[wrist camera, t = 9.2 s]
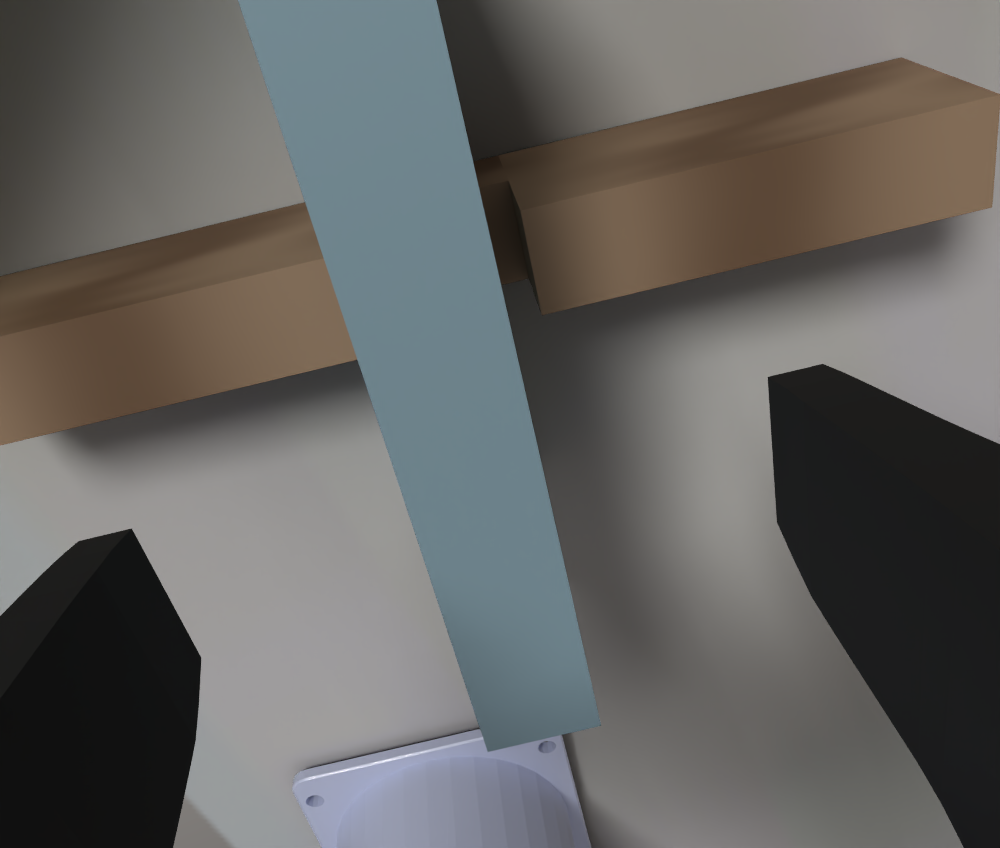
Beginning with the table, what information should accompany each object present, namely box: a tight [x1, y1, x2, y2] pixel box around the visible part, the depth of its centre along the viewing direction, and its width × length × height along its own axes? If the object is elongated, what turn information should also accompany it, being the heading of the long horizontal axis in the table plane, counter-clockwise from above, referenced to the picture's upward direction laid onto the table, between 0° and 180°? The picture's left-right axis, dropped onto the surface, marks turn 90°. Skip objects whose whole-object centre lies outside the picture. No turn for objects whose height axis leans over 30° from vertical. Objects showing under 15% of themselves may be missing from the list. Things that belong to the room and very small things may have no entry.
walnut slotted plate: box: [0, 58, 1000, 445], centre depth 18 cm, size 20×2×4 cm, turn 101°
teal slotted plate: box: [238, 0, 601, 752], centre depth 16 cm, size 14×2×8 cm, turn 11°
